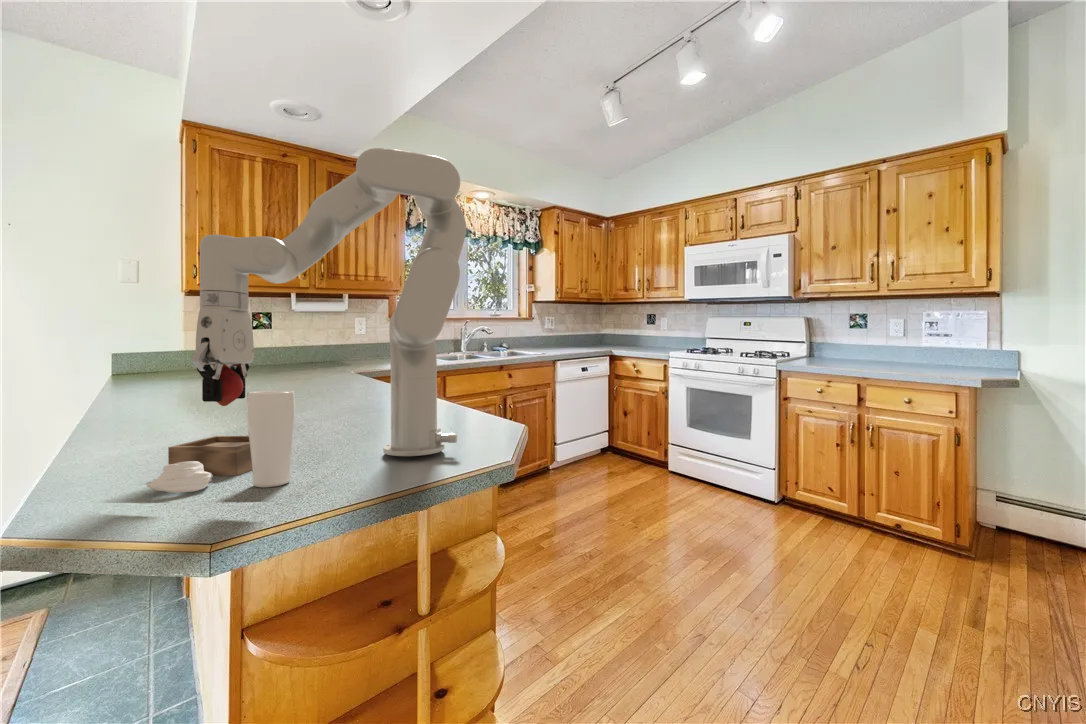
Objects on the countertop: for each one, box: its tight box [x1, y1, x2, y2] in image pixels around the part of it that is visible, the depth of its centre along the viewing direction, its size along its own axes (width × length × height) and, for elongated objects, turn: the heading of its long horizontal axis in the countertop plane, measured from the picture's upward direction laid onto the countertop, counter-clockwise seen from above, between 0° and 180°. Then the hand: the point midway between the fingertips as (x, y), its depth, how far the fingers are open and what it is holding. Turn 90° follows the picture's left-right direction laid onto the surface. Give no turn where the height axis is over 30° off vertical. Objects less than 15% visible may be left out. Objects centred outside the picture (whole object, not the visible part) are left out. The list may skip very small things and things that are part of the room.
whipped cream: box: [146, 461, 214, 494], centre depth 72 cm, size 8×7×5 cm
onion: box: [216, 363, 243, 407], centre depth 87 cm, size 6×6×8 cm
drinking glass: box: [246, 390, 296, 488], centre depth 76 cm, size 7×7×15 cm
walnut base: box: [167, 435, 252, 477], centre depth 87 cm, size 12×12×5 cm
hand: (224, 398), depth 87 cm, fingers closed on onion, 5 cm apart
